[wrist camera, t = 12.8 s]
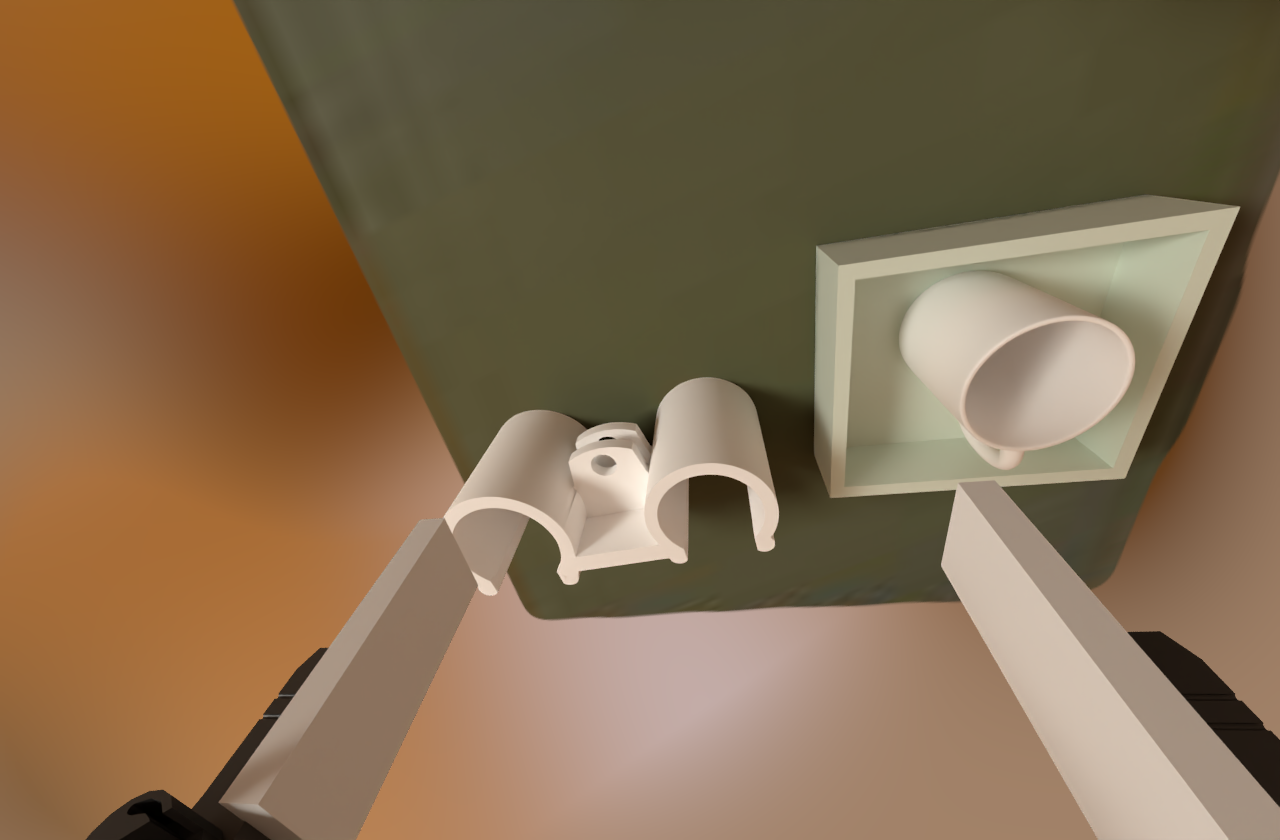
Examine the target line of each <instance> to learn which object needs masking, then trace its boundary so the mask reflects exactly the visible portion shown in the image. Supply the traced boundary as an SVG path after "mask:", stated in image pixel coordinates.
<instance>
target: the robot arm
mask: <svg viewBox="0 0 1280 840" xmlns="http://www.w3.org/2000/svg"><path fill="white" fill-rule="evenodd" d="M941 566H942V568H943V570H944V572H945V573H946V575H947V577H948V579H949V580H950V582H951V584H952V586H953V587H954V589H955V591H956V593H957V594H958V596H959V598H960V600H961V601H962V603H963V604H964V606H965V608H966V610H967V612H968V613H969V615H970V617H971V619H972V621H973V622H974V624H975V626H976V627H977V629H978V631H979V633H980V634H981V636H982V638H983V640H984V641H985V643H986V645H987V647H988V648H989V650H990V652H991V654H992V655H993V657H994V659H995V661H996V662H997V664H998V666H999V668H1000V669H1001V671H1002V673H1003V675H1004V676H1005V678H1006V680H1007V681H1008V683H1009V685H1010V687H1011V688H1012V690H1013V692H1014V693H1015V695H1016V697H1017V699H1018V701H1019V702H1020V704H1021V706H1022V707H1023V709H1024V711H1025V713H1026V715H1027V716H1028V718H1029V720H1030V721H1031V723H1032V725H1033V727H1034V729H1035V730H1036V732H1037V734H1038V736H1039V737H1040V739H1041V741H1042V743H1043V744H1044V746H1045V748H1046V749H1047V751H1048V753H1049V755H1050V757H1051V758H1052V760H1053V762H1054V763H1055V765H1056V767H1057V769H1058V770H1059V772H1060V774H1061V776H1062V777H1063V779H1064V781H1065V783H1066V784H1067V786H1068V788H1069V790H1070V791H1071V793H1072V795H1073V796H1074V798H1075V800H1076V802H1077V803H1078V805H1079V807H1080V809H1081V811H1082V812H1083V814H1084V816H1085V818H1086V819H1087V821H1088V823H1089V824H1090V826H1091V828H1092V830H1093V831H1094V833H1095V835H1096V837H1097V838H1098V840H1280V740H1279V739H1278V738H1277V737H1276V736H1275V735H1274V734H1273V732H1272V731H1268V730H1266V729H1265V728H1264V726H1263V722H1262V721H1261V720H1260V719H1259V718H1258V717H1257V716H1256V715H1255V714H1254V713H1253V712H1252V711H1251V710H1250V709H1249V708H1248V707H1247V706H1246V705H1245V704H1244V703H1243V702H1242V701H1239V700H1237V699H1236V697H1235V693H1234V692H1233V691H1232V690H1231V689H1230V688H1229V687H1228V686H1227V685H1226V684H1225V683H1224V682H1223V681H1222V680H1221V679H1220V678H1219V677H1218V676H1217V675H1216V674H1215V673H1214V672H1213V671H1212V670H1211V669H1210V668H1209V666H1208V665H1207V664H1206V663H1205V662H1204V661H1203V660H1202V659H1200V658H1199V657H1197V656H1196V655H1194V654H1193V653H1191V652H1190V651H1188V650H1187V649H1185V648H1184V647H1183V646H1181V645H1179V644H1178V643H1177V642H1175V641H1174V640H1172V639H1171V638H1169V637H1168V636H1166V635H1165V634H1163V633H1162V632H1160V631H1157V632H1126V631H1125V629H1124V628H1123V627H1122V626H1121V625H1120V624H1119V622H1118V621H1117V620H1116V619H1115V618H1114V617H1113V616H1112V614H1111V613H1110V612H1109V611H1108V610H1107V609H1106V607H1105V606H1104V605H1103V604H1102V603H1101V602H1100V601H1099V599H1098V598H1097V597H1096V596H1095V595H1094V594H1093V593H1092V592H1091V590H1090V589H1089V588H1088V587H1087V586H1086V585H1085V583H1084V582H1083V581H1082V580H1081V579H1080V578H1079V576H1078V575H1077V574H1076V573H1075V572H1074V571H1073V570H1072V568H1071V567H1070V566H1069V565H1068V564H1067V563H1066V562H1065V560H1064V559H1063V558H1062V557H1061V556H1060V555H1059V554H1058V552H1057V551H1056V550H1055V549H1054V548H1053V547H1052V545H1051V544H1050V543H1049V542H1048V541H1047V540H1046V539H1045V537H1044V536H1043V535H1042V534H1041V533H1040V532H1039V531H1038V529H1037V528H1036V527H1035V526H1034V525H1033V524H1032V523H1031V521H1030V520H1029V519H1028V518H1027V517H1026V516H1025V515H1024V513H1023V512H1022V511H1021V510H1020V509H1019V508H1018V506H1017V505H1016V504H1015V503H1014V502H1013V501H1012V500H1011V498H1010V497H1009V496H1008V495H1007V494H1006V493H1005V492H1004V490H1003V489H1002V488H1001V487H1000V486H999V485H998V484H997V482H996V481H995V480H990V481H975V482H961V483H958V485H957V490H956V495H955V500H954V505H953V510H952V514H951V519H950V524H949V529H948V534H947V539H946V544H945V549H944V554H943V558H942V563H941ZM477 586H478V584H477V582H476V580H475V578H474V576H473V574H472V572H471V570H470V568H469V566H468V564H467V562H466V560H465V558H464V556H463V554H462V552H461V550H460V548H459V546H458V544H457V542H456V540H455V538H454V536H453V534H452V532H451V530H450V528H449V526H448V524H447V522H446V520H445V518H440V519H426V520H420V521H419V522H418V523H417V525H416V526H415V528H414V529H413V530H412V532H411V533H410V534H409V536H408V537H407V539H406V540H405V542H404V543H403V545H402V546H401V547H400V549H399V550H398V551H397V553H396V554H395V556H394V557H393V558H392V560H391V561H390V563H389V564H388V565H387V567H386V568H385V570H384V571H383V572H382V574H381V575H380V577H379V578H378V579H377V581H376V582H375V584H374V585H373V586H372V588H371V589H370V591H369V592H368V593H367V595H366V596H365V598H364V599H363V600H362V602H361V603H360V605H359V606H358V607H357V609H356V610H355V612H354V613H353V614H352V616H351V617H350V619H349V620H348V621H347V623H346V624H345V626H344V627H343V629H342V630H341V631H340V633H339V634H338V636H337V637H336V638H335V640H334V641H333V643H332V644H331V646H330V647H329V648H320V649H318V650H317V651H316V652H315V653H314V654H313V655H312V656H311V657H310V658H309V659H308V660H306V661H305V662H304V663H303V664H302V665H301V666H300V667H299V668H298V669H297V670H296V671H295V672H294V674H293V675H292V676H291V678H290V679H289V681H288V682H287V683H286V684H285V686H284V687H283V689H282V690H281V691H280V693H279V697H278V698H277V699H274V701H273V702H272V703H271V705H270V706H269V707H268V709H267V710H266V711H265V713H264V714H263V715H264V717H263V719H261V720H259V721H258V722H257V723H256V725H255V726H254V727H253V729H252V730H251V732H250V733H249V734H248V736H247V737H246V738H245V740H244V741H243V743H242V744H241V745H240V746H239V748H238V749H237V750H236V752H235V753H234V754H233V756H232V757H231V758H230V760H229V761H228V762H227V764H226V765H225V766H224V768H223V769H222V771H221V772H220V773H219V775H218V776H217V777H216V779H215V780H214V781H213V783H212V784H211V785H210V787H209V788H208V790H207V791H206V792H205V793H204V795H203V796H202V797H201V798H200V800H199V801H198V802H197V803H196V804H195V806H194V807H193V808H192V809H190V808H189V807H187V806H186V805H184V804H183V803H181V802H180V801H179V800H177V799H176V798H174V797H173V796H171V795H170V794H168V793H167V792H166V791H164V790H157V791H149V792H147V793H145V794H142V795H140V796H138V797H136V798H134V799H132V800H130V801H129V802H127V803H126V804H124V805H123V806H122V807H120V808H119V809H117V810H116V811H115V812H113V813H112V814H111V815H109V817H107V818H106V819H105V820H104V821H103V822H102V823H101V824H100V825H99V826H98V827H97V828H96V829H95V830H94V831H93V832H92V833H91V834H90V835H89V836H88V838H87V839H86V840H356V838H357V836H358V834H359V832H360V830H361V828H362V826H363V824H364V822H365V820H366V818H367V816H368V813H369V811H370V809H371V807H372V805H373V803H374V801H375V799H376V797H377V795H378V793H379V791H380V788H381V786H382V784H383V782H384V780H385V778H386V776H387V774H388V771H389V770H390V768H391V766H392V763H393V761H394V759H395V757H396V755H397V753H398V751H399V749H400V747H401V745H402V742H403V740H404V738H405V736H406V734H407V732H408V730H409V728H410V726H411V724H412V722H413V720H414V718H415V716H416V713H417V711H418V709H419V707H420V705H421V703H422V701H423V699H424V697H425V695H426V693H427V690H428V688H429V686H430V684H431V682H432V680H433V678H434V676H435V674H436V671H437V670H438V668H439V665H440V663H441V661H442V659H443V657H444V655H445V653H446V651H447V649H448V647H449V644H450V643H451V640H452V638H453V636H454V634H455V632H456V630H457V628H458V626H459V624H460V622H461V620H462V618H463V616H464V613H465V611H466V609H467V607H468V605H469V603H470V601H471V599H472V597H473V595H474V593H475V591H476V588H477Z"/></svg>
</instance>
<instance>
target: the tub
mask: <svg viewBox="0 0 1280 840" xmlns="http://www.w3.org/2000/svg"><path fill="white" fill-rule="evenodd" d="M1239 209H1240V207H1239V206H1232V205H1224V204H1216V203H1209V202H1201V201H1193V200H1186V199H1178V198H1170V197H1163V196H1155V195H1147V194H1146V195H1140V196H1133V197H1127V198H1120V199H1114V200H1107V201H1101V202H1095V203H1088V204H1082V205H1075V206H1069V207H1062V208H1056V209H1049V210H1043V211H1037V212H1030V213H1024V214H1017V215H1011V216H1004V217H998V218H991V219H985V220H979V221H972V222H966V223H959V224H953V225H946V226H940V227H933V228H927V229H921V230H914V231H908V232H901V233H895V234H888V235H882V236H875V237H869V238H862V239H856V240H850V241H843V242H837V243H830V244H824V245H817V246H816V311H815V394H814V456H815V459H816V461H817V464H818V467H819V469H820V472H821V475H822V477H823V480H824V483H825V485H826V488H827V491H828V493H829V496H830V498H838V497H853V496H868V495H883V494H898V493H913V492H928V491H943V490H957V485H958V483H961V482H975V481H990V480H995V481H996V482H997V484H998V485H999V486H1000V487H1003V486H1018V485H1033V484H1048V483H1063V482H1078V481H1093V480H1108V479H1123V478H1125V477H1126V475H1127V472H1128V470H1129V468H1130V465H1131V463H1132V460H1133V458H1134V456H1135V453H1136V451H1137V449H1138V446H1139V444H1140V442H1141V439H1142V437H1143V435H1144V432H1145V430H1146V428H1147V425H1148V423H1149V420H1150V418H1151V416H1152V413H1153V411H1154V409H1155V406H1156V404H1157V402H1158V399H1159V397H1160V395H1161V392H1162V390H1163V388H1164V385H1165V383H1166V380H1167V378H1168V376H1169V373H1170V371H1171V369H1172V366H1173V364H1174V362H1175V359H1176V357H1177V355H1178V352H1179V350H1180V348H1181V345H1182V343H1183V340H1184V338H1185V336H1186V333H1187V331H1188V329H1189V326H1190V324H1191V322H1192V319H1193V317H1194V315H1195V312H1196V310H1197V308H1198V305H1199V303H1200V300H1201V298H1202V296H1203V293H1204V291H1205V289H1206V286H1207V284H1208V282H1209V279H1210V277H1211V275H1212V272H1213V270H1214V268H1215V265H1216V263H1217V260H1218V258H1219V256H1220V253H1221V251H1222V249H1223V246H1224V244H1225V242H1226V239H1227V237H1228V235H1229V232H1230V230H1231V228H1232V225H1233V223H1234V220H1235V218H1236V216H1237V213H1238V211H1239ZM975 270H984V271H992V272H997V273H1000V274H1003V275H1006V276H1009V277H1011V278H1013V279H1016V280H1018V281H1020V282H1022V283H1025V284H1027V285H1029V286H1031V287H1033V288H1036V289H1038V290H1040V291H1042V292H1045V293H1047V294H1049V295H1051V296H1054V297H1056V298H1058V299H1060V300H1062V301H1065V302H1067V303H1069V304H1071V305H1074V306H1076V307H1078V308H1080V309H1082V310H1085V311H1087V312H1089V313H1091V314H1094V315H1096V316H1098V317H1100V318H1102V319H1105V320H1107V321H1109V322H1111V323H1113V324H1115V325H1116V326H1118V327H1119V328H1120V329H1121V330H1123V331H1124V332H1125V334H1126V335H1127V336H1128V337H1129V339H1130V341H1131V343H1132V345H1133V348H1134V352H1135V370H1134V375H1133V378H1132V381H1131V383H1130V385H1129V387H1128V389H1127V391H1126V393H1125V395H1124V396H1123V398H1122V399H1121V400H1120V402H1119V403H1118V404H1117V405H1116V406H1115V408H1114V409H1113V410H1112V411H1111V412H1110V413H1109V414H1108V415H1107V416H1106V417H1104V418H1103V419H1102V420H1101V421H1100V422H1098V423H1097V424H1096V425H1094V426H1093V427H1091V428H1090V429H1089V430H1087V431H1085V432H1084V433H1082V434H1080V435H1078V436H1076V437H1074V438H1072V439H1070V440H1068V441H1065V442H1063V443H1060V444H1057V445H1054V446H1051V447H1047V448H1043V449H1038V450H1031V451H1025V452H1024V456H1023V459H1022V461H1021V462H1020V464H1019V465H1018V466H1016V467H1015V468H1013V469H1010V470H1001V469H998V468H996V467H994V466H992V465H990V464H989V463H987V462H986V461H985V460H984V459H983V458H982V457H981V456H980V455H979V454H978V453H977V452H976V451H975V450H974V449H973V447H972V446H971V445H970V443H969V442H968V441H967V439H966V437H965V436H964V434H963V432H962V429H961V427H960V424H959V421H958V420H957V419H956V418H955V417H954V416H953V415H952V414H951V413H950V412H949V410H948V409H947V408H946V407H945V406H944V405H943V404H942V403H941V402H940V401H939V400H938V399H937V397H936V396H935V395H934V394H933V393H932V392H931V391H930V390H929V389H928V388H927V387H926V386H925V384H924V383H923V382H922V381H921V380H920V379H919V378H918V377H917V376H916V375H915V374H914V373H913V371H912V370H911V369H910V368H909V366H908V365H907V364H906V362H905V361H904V359H903V357H902V354H901V351H900V347H899V332H900V327H901V323H902V321H903V318H904V316H905V314H906V312H907V311H908V309H909V307H910V306H911V305H912V303H913V302H914V301H915V300H916V299H917V298H918V297H919V296H920V295H921V294H922V293H923V292H924V291H925V290H926V289H928V288H929V287H930V286H932V285H933V284H935V283H937V282H938V281H940V280H942V279H944V278H947V277H949V276H952V275H955V274H958V273H962V272H967V271H975ZM998 450H999V451H1000V449H998Z"/></svg>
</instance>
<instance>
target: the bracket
mask: <svg viewBox="0 0 1280 840" xmlns="http://www.w3.org/2000/svg"><path fill="white" fill-rule="evenodd" d="M602 437H613V438H615V439H609V440H601V441H599V439H601V438H602ZM699 475H722V476H727V477H731V478H734V479H736V480H739V481H741V482H743V483H744V484H746V485H747V489H748V495H749V502H750V508H751V515H752V522H753V530H754V536H755V541H756V545H757V549H758V550H759V551H769V550H771V549H773V548H774V546H775V540H774V535H773V533H774V532H775V529H776V527H777V524H778V519H779V509H778V503H777V499H776V495H775V490H774V486H773V481H772V477H771V473H770V468H769V464H768V459H767V455H766V450H765V446H764V442H763V437H762V433H761V428H760V424H759V420H758V415H757V411H756V408H755V405H754V403H753V401H752V400H751V398H750V397H749V395H748V394H747V393H746V392H745V391H744V390H743V389H741V388H740V387H739V386H737V385H735V384H733V383H731V382H729V381H726V380H723V379H719V378H710V377H704V378H696V379H692V380H689V381H686V382H683V383H681V384H679V385H678V386H676V387H675V388H673V389H672V390H671V391H670V392H669V393H668V394H667V395H666V396H665V397H664V399H663V400H662V402H661V403H660V405H659V408H658V411H657V415H656V422H655V430H654V438H653V445H652V446H650V444H649V443H648V441H647V439H646V438H645V436H644V435H643V433H642V432H641V430H640V428H639V427H638V425H637V424H634V423H627V422H613V423H606V424H602V425H598V426H595V427H593V428H591V429H589V430H587V429H586V428H585V427H584V426H583V425H581V424H580V423H579V422H577V421H576V420H574V419H572V418H570V417H568V416H566V415H564V414H561V413H558V412H554V411H548V410H531V411H526V412H523V413H520V414H517V415H516V416H514V417H512V418H511V419H509V420H508V421H507V422H506V423H505V424H504V425H503V426H502V428H501V429H500V431H499V432H498V434H497V435H496V437H495V439H494V440H493V442H492V443H491V445H490V446H489V448H488V449H487V451H486V452H485V454H484V455H483V457H482V459H481V460H480V462H479V463H478V465H477V466H476V468H475V469H474V471H473V472H472V474H471V475H470V477H469V479H468V480H467V482H466V483H465V485H464V486H463V488H462V489H461V491H460V492H459V494H458V496H457V497H456V499H455V500H454V502H453V503H452V505H451V507H450V508H449V509H448V511H447V512H446V514H445V516H444V517H443V518H445V520H446V522H447V524H448V526H449V528H450V530H451V532H452V534H453V536H454V538H455V540H456V542H457V544H458V546H459V548H460V550H461V552H462V554H463V556H464V558H465V560H466V562H467V564H468V566H469V568H470V570H471V572H472V574H473V576H474V578H475V580H476V582H477V584H478V589H479V590H480V592H482V593H483V594H485V595H490V596H492V595H496V594H497V592H498V591H499V589H500V586H501V584H502V581H503V579H504V577H505V574H506V572H507V570H508V567H509V565H510V563H511V560H512V558H513V556H514V553H515V551H516V549H517V546H518V544H519V541H520V539H521V537H522V534H523V532H524V530H525V527H526V525H527V523H528V520H529V518H530V517H531V518H532V519H534V520H536V521H537V522H539V523H540V524H541V525H543V526H544V527H545V528H546V529H547V530H548V531H549V532H550V533H551V534H552V535H553V537H554V538H555V540H556V541H557V543H558V545H559V548H560V552H561V562H560V564H559V566H558V570H557V573H558V574H559V576H560V578H561V579H562V581H563V583H564V584H568V585H572V584H575V583H577V582H578V580H579V576H580V572H581V571H583V570H590V569H597V568H604V567H611V566H618V565H625V564H631V563H638V562H645V561H652V560H659V559H666V558H670V560H671V561H673V562H675V563H684V562H686V561H687V560H688V507H689V478H690V477H694V476H699Z"/></svg>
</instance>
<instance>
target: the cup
mask: <svg viewBox="0 0 1280 840" xmlns="http://www.w3.org/2000/svg"><path fill="white" fill-rule="evenodd" d="M899 347H900V351H901V354H902V357H903V359H904V361H905V362H906V364H907V365H908V366H909V368H910V369H911V370H912V371H913V373H914V374H915V375H916V376H917V377H918V378H919V379H920V380H921V381H922V382H923V383H924V384H925V386H926V387H927V388H928V389H929V390H930V391H931V392H932V393H933V394H934V395H935V396H936V397H937V399H938V400H939V401H940V402H941V403H942V404H943V405H944V406H945V407H946V408H947V409H948V410H949V412H950V413H951V414H952V415H953V416H954V417H955V418H956V419H957V420H958V421H959V424H960V427H961V429H962V432H963V434H964V436H965V437H966V439H967V441H968V442H969V443H970V445H971V446H972V447H973V449H974V450H975V451H976V452H977V453H978V454H979V455H980V456H981V457H982V458H983V459H984V460H985V461H986V462H987V463H989V464H990V465H992V466H994V467H996V468H998V469H1001V470H1010V469H1013V468H1015V467H1016V466H1018V465H1019V464H1020V462H1021V461H1022V459H1023V456H1024V452H1025V451H1031V450H1038V449H1043V448H1047V447H1051V446H1054V445H1057V444H1060V443H1063V442H1065V441H1068V440H1070V439H1072V438H1074V437H1076V436H1078V435H1080V434H1082V433H1084V432H1085V431H1087V430H1089V429H1090V428H1091V427H1093V426H1094V425H1096V424H1097V423H1098V422H1100V421H1101V420H1102V419H1103V418H1104V417H1106V416H1107V415H1108V414H1109V413H1110V412H1111V411H1112V410H1113V409H1114V408H1115V406H1116V405H1117V404H1118V403H1119V402H1120V400H1121V399H1122V398H1123V396H1124V395H1125V393H1126V391H1127V389H1128V387H1129V385H1130V383H1131V381H1132V378H1133V375H1134V370H1135V352H1134V348H1133V345H1132V343H1131V341H1130V339H1129V337H1128V336H1127V335H1126V334H1125V332H1124V331H1123V330H1121V329H1120V328H1119V327H1118V326H1116V325H1115V324H1113V323H1111V322H1109V321H1107V320H1105V319H1102V318H1100V317H1098V316H1096V315H1094V314H1091V313H1089V312H1087V311H1085V310H1082V309H1080V308H1078V307H1076V306H1074V305H1071V304H1069V303H1067V302H1065V301H1062V300H1060V299H1058V298H1056V297H1054V296H1051V295H1049V294H1047V293H1045V292H1042V291H1040V290H1038V289H1036V288H1033V287H1031V286H1029V285H1027V284H1025V283H1022V282H1020V281H1018V280H1016V279H1013V278H1011V277H1009V276H1006V275H1003V274H1000V273H997V272H992V271H984V270H975V271H967V272H962V273H958V274H955V275H952V276H949V277H947V278H944V279H942V280H940V281H938V282H937V283H935V284H933V285H932V286H930V287H929V288H928V289H926V290H925V291H924V292H923V293H922V294H921V295H920V296H919V297H918V298H917V299H916V300H915V301H914V302H913V303H912V305H911V306H910V307H909V309H908V311H907V312H906V314H905V316H904V318H903V321H902V323H901V327H900V332H899ZM998 449H1000V451H999V450H998Z"/></svg>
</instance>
